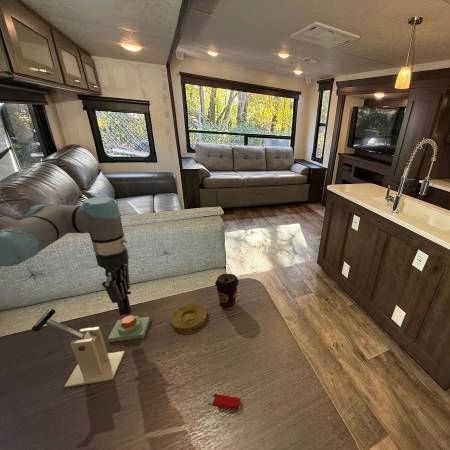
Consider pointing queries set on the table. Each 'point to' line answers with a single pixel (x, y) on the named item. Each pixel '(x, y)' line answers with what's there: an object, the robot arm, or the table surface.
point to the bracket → (93, 360)
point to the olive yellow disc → (188, 317)
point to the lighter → (224, 401)
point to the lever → (60, 327)
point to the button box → (129, 330)
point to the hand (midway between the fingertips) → (125, 313)
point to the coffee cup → (227, 290)
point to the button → (128, 321)
